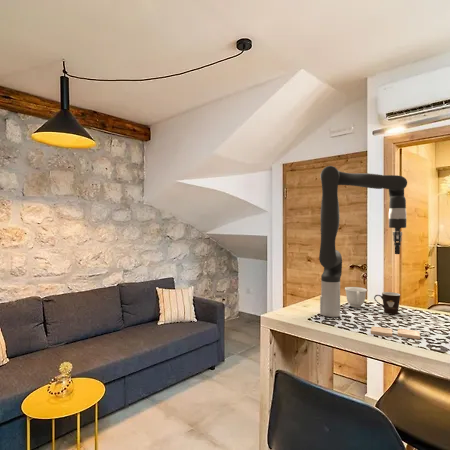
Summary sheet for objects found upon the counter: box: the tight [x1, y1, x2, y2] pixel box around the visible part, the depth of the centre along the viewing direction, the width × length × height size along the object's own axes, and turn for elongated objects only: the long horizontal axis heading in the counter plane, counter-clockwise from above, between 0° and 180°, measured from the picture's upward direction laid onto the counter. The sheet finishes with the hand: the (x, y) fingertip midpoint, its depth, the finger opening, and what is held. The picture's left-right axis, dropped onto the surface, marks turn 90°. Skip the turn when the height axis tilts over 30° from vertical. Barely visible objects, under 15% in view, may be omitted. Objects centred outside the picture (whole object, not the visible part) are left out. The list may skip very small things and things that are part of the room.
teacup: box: [344, 286, 368, 309], centre depth 180 cm, size 12×15×10 cm
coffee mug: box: [373, 291, 401, 315], centre depth 170 cm, size 12×9×10 cm
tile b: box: [396, 328, 421, 340], centre depth 134 cm, size 8×2×7 cm
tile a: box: [370, 326, 393, 338], centre depth 137 cm, size 8×2×7 cm
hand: (397, 254), depth 155 cm, fingers closed
